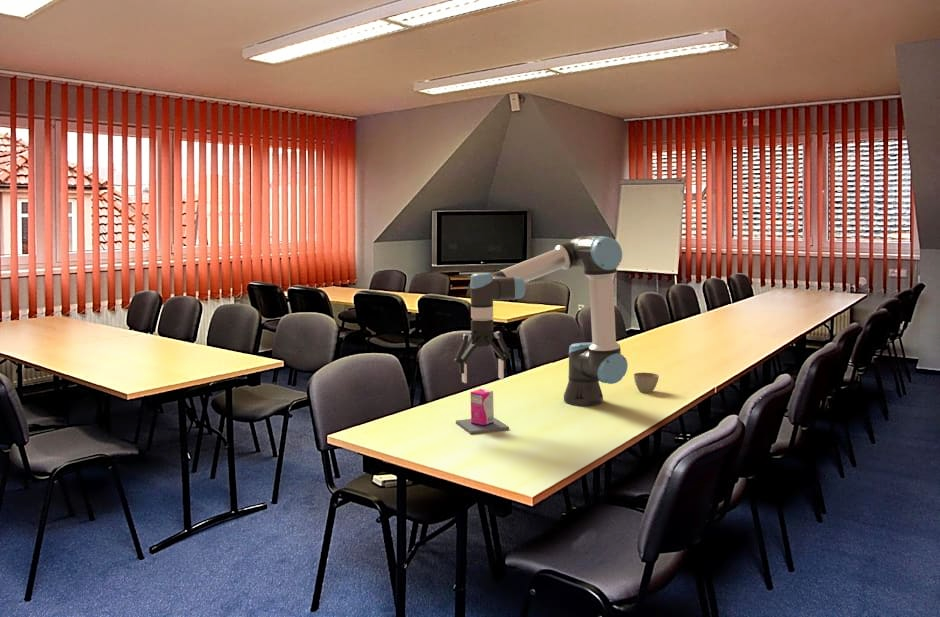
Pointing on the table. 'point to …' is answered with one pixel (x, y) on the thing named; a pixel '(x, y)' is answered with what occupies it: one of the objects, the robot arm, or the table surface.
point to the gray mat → (479, 429)
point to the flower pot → (646, 381)
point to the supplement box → (482, 407)
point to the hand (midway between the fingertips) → (482, 380)
